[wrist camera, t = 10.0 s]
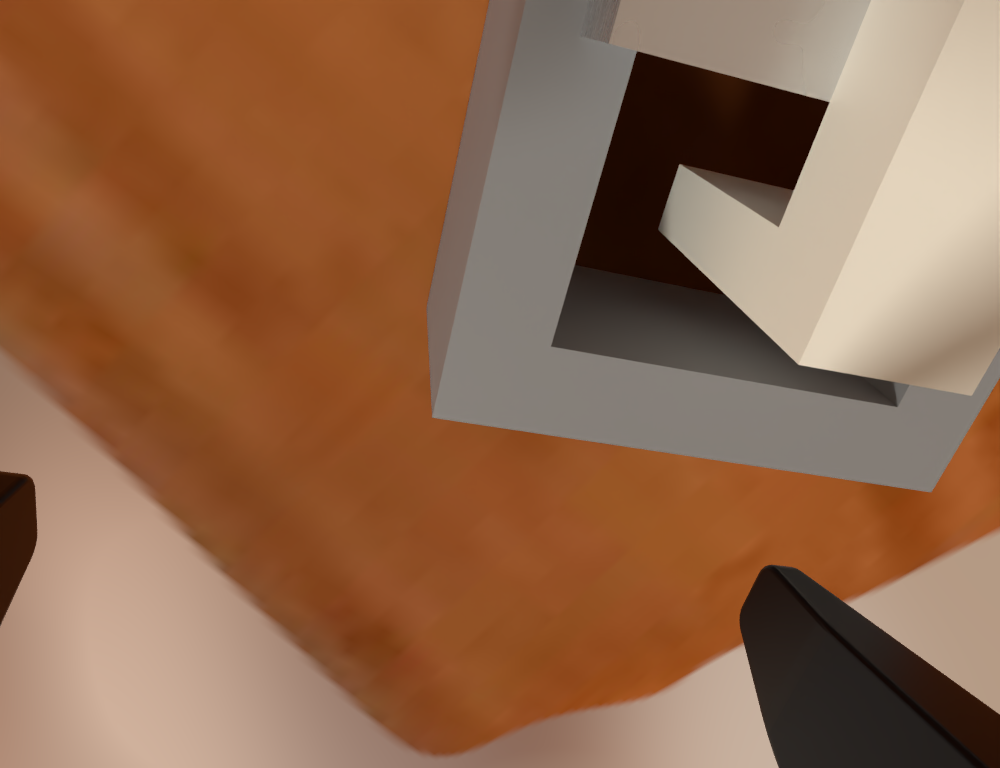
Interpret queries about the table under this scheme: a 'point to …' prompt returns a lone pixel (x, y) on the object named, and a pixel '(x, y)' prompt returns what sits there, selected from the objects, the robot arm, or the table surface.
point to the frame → (626, 299)
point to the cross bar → (739, 37)
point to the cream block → (875, 209)
